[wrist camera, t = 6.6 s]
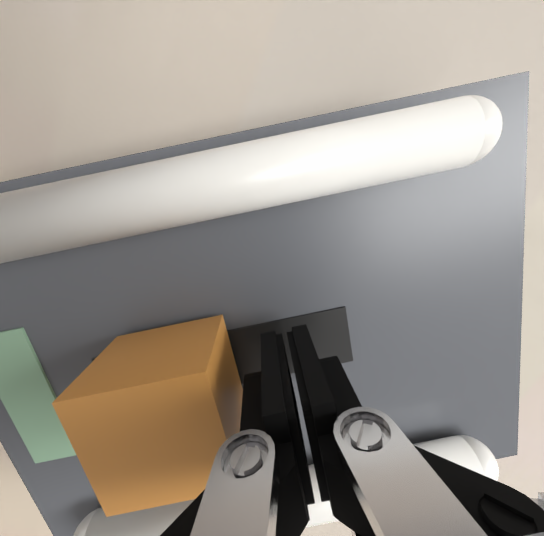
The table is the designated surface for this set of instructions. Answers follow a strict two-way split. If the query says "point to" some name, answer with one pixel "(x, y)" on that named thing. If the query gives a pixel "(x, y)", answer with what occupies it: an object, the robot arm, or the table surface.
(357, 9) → the table surface
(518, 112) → the grey slider switch panel
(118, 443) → the block
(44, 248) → the cord
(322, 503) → the cord
